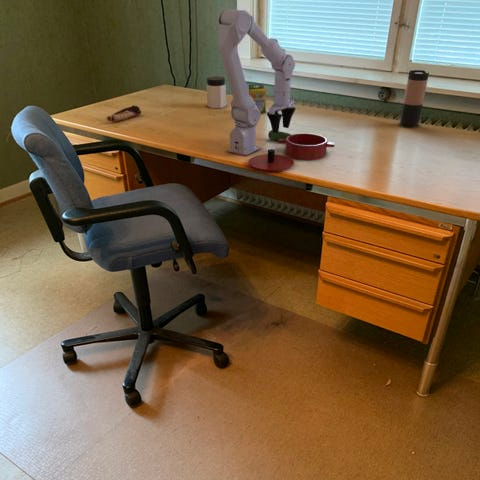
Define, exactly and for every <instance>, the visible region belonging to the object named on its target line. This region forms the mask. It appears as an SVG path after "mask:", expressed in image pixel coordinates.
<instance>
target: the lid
mask: <svg viewBox="0 0 480 480" xmlns="http://www.w3.org/2000/svg"><path fill="white" fill-rule="evenodd" d="M247 164H248V166H249V167H251V168H252V169H254V170H258V171H264V172H279V171H285V170H288V169H291V168H293V166H294V164H295V162H294V159H293V158H291V157H289V156H287V155H282V154H277V153H276V150H275V149H273V148H269V149H268V150H267V154H266V153H263V154H257V155H255V156H251V157H250V158H249V159H248V162H247Z"/></svg>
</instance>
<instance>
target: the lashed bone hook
mask: <svg viewBox="0 0 480 480" xmlns="http://www.w3.org/2000/svg"><path fill="white" fill-rule="evenodd" d="M141 114H142V109H141V108H140V107H139V106H138V105H134V104H133V105H131V106H128V107H124V108H122V109H119V110H117V111H116V112H114V113H113V114H111V115H108V116H107V117H106V118H107V121H109V122H119V121H126V120H128V119H132V118H135V117H137V116H139V115H141Z"/></svg>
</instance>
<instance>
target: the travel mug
mask: <svg viewBox="0 0 480 480" xmlns="http://www.w3.org/2000/svg"><path fill="white" fill-rule="evenodd" d="M407 75H408V76H407V81H406V86H405V92H404V96H403V101H402V107H401V114H400V121H399V126H401V127H403V128H412V129H413V128H416V127H418V125H419V122H420V118H421V114H422V109H423V106H424V100H425V96H426V95H425V94H426V89H427V85H428V82H429V81H428V80H429V76H430V72H426V71H425V70H422V69H413V70H409V71H408V74H407Z"/></svg>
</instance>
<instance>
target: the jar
mask: <svg viewBox="0 0 480 480" xmlns="http://www.w3.org/2000/svg"><path fill="white" fill-rule="evenodd" d="M205 87H206V105H207V107H209V108H210V109H222V108H225V107H227V85H226V78H225V77H224V76H219V75H218V76H217V75H216V76H215V75H214V76H208V77H207V78H206V86H205Z"/></svg>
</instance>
